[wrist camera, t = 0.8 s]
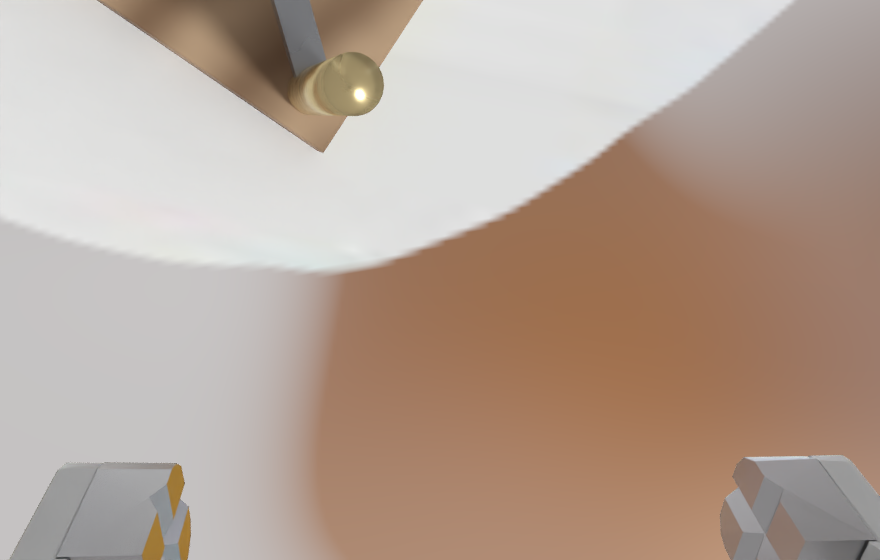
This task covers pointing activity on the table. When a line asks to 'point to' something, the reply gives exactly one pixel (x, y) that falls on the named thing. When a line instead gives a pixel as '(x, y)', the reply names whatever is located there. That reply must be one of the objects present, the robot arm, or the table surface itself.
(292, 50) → the capstan
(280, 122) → the stand
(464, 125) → the table surface
